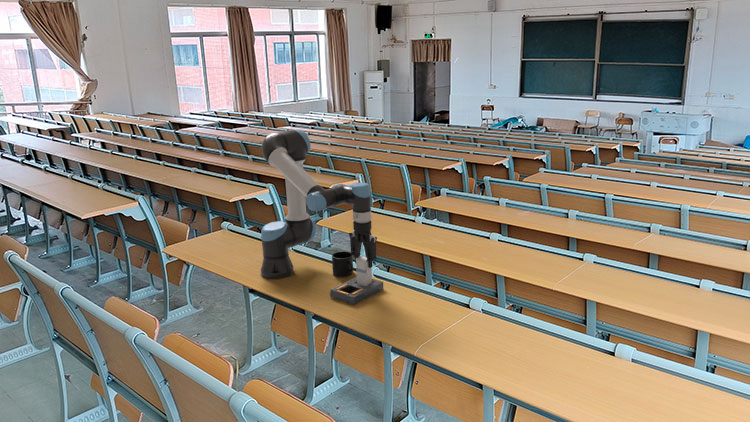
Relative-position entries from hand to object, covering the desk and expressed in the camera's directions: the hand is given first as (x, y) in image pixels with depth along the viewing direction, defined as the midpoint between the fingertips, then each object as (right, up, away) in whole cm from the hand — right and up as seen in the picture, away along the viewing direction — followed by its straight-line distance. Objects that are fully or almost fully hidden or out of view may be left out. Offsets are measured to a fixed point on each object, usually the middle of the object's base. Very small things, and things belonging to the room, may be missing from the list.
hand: (364, 272), depth 234 cm
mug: (-9, -3, +19) cm, 22 cm away
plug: (0, -7, +2) cm, 8 cm away
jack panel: (-3, -9, -1) cm, 9 cm away
